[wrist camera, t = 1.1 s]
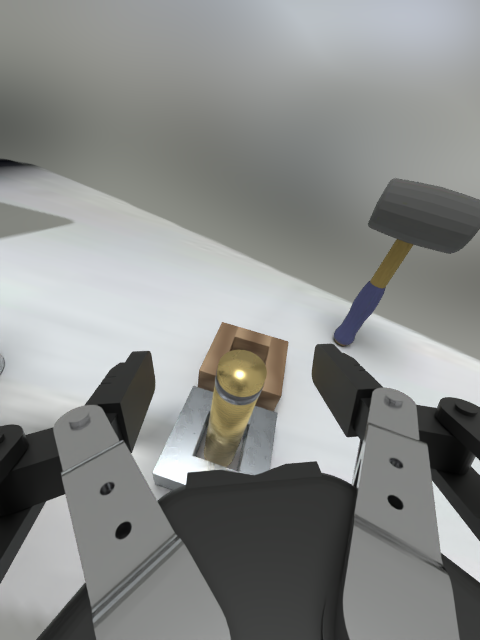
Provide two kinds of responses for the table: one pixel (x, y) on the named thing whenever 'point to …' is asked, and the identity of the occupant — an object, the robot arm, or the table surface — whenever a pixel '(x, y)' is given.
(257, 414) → the socket block
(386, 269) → the rubber mallet
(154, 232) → the table surface
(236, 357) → the brass peg
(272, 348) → the block
